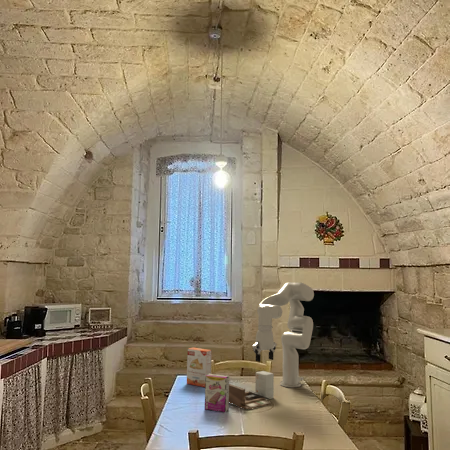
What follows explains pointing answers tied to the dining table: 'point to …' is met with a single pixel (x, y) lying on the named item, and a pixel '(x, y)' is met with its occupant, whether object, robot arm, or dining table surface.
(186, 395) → the dining table surface
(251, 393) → the gauge carriage
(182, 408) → the dining table surface
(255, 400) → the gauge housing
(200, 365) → the cracker box
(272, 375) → the small box
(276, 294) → the robot arm
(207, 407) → the candy bar box
